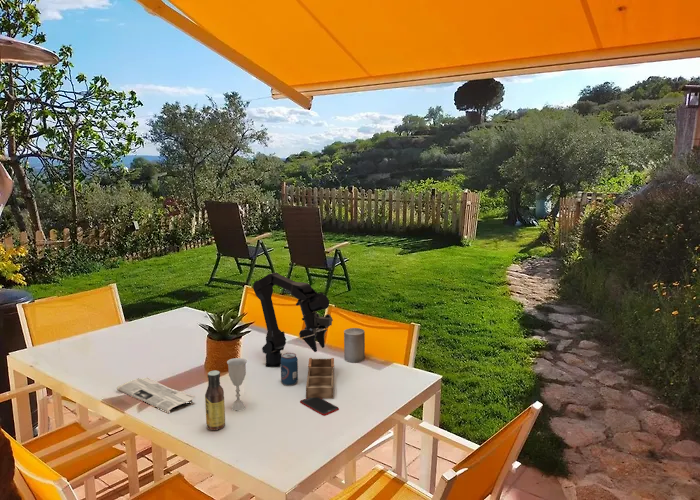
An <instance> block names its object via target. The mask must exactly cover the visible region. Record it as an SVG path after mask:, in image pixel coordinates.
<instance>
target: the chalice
mask: <svg viewBox="0 0 700 500" xmlns="http://www.w3.org/2000/svg"><path fill="white" fill-rule="evenodd" d="M247 362H248V361H247V359H245V358H241V357H235V358H234V357H233V358H230V359H228V360H227V361H226V364H227V365H228V366H227V367H228V376H229V380H230V381H231V383H232V385H233V386H234V387H236V389H235V393H236V394H235V398H236V400H235V401H234V402H233V403H232V406H231V408H232V409H233V410H232V409H231V410H232V411H234V410H238V411H237V412H239V410H241V411H243V410H244V408H245V409H246V405H245V403H244V402H243V400H241V399H240V397H241V394H240V392H241V390H240V386H242V384H243V383H244V380H245V377H246V374H247V370H246V369H247V368H246V367H247V366H246V364H247Z"/></svg>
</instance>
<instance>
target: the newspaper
mask: <svg viewBox="0 0 700 500" xmlns="http://www.w3.org/2000/svg"><path fill="white" fill-rule="evenodd" d="M116 390H117V391H119V392H121V393H123V394H125V395H127V394H128V395H127V396H129V395H130V397H131V396H132V398H134V399H136V398H137V399H136V400H138V399H139V401H140V400H142V401H144V402H146V403H145V404H147V403H148V404H147V405H149V404H150V405H149V406H151V405H153V406H155V407H157V408H159V409H162V410H164V411H166V412H168V413H169V411H171V410H172V409H173V408H175V407H178V406H181V405H182V404H185V403H186V402H189V403H190V402H191V403H192V402H193V399H194V398H196V396H195V395H192V394H189V393H187V392H184V391H180V390H176V389H173V388H170V387H169V386H166V385H164V384H162V383H160V382H158V381H156V380H155V379H154V380H153V379H151V378H150V377H145V378H143V377H142V378H141V377H139V378H135V379H132V380H129V381H126V382H125V383H122V384H120V385H118V386H117V388H116ZM142 401H141V402H142ZM144 402H143V403H144ZM153 406H152V407H153ZM155 407H154V408H155ZM157 408H156V409H157ZM159 409H158V410H159ZM162 410H161V411H162ZM164 411H163V412H164ZM166 412H165V413H166ZM168 413H167V414H168ZM169 414H170V413H169Z"/></svg>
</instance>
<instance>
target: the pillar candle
mask: <svg viewBox="0 0 700 500" xmlns="http://www.w3.org/2000/svg"><path fill="white" fill-rule="evenodd" d="M365 332H366V331H365V330H364V329H363V328H359V327H350V328H347V329H344V330H343V344H344V347H343V350H344V351H343V352H344V355H343V356H344V358H343V360H344V361H346V362H348V363H352V364H354V363H355V364H356V363H357V364H358V363H361V362H364V361H365V357H366V352H365V351H366V350H365V346H366V345H365V344H366V343H365V337H366V335H365Z"/></svg>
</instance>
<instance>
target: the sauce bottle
mask: <svg viewBox="0 0 700 500" xmlns="http://www.w3.org/2000/svg"><path fill="white" fill-rule="evenodd" d="M220 377H221V371H219V370H211V371H208V372H207V381H208V382H207V383H208V384H207V385H208V386H207V389H206V391H205V394H204V400H205V401H204V403H205V404H204V405H205V420H206V423H205V424H206V427H207V429H208V430H209V429H210V431H218V429H219V430H222V429H223V428H224V426H225V425H226V409H225V408H226V407H225V405H226V404H225V394H224V393H225V392H224V388H223V386H222V385H221V382H220V381H221V380H220V379H221V378H220ZM221 428H222V429H221Z"/></svg>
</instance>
